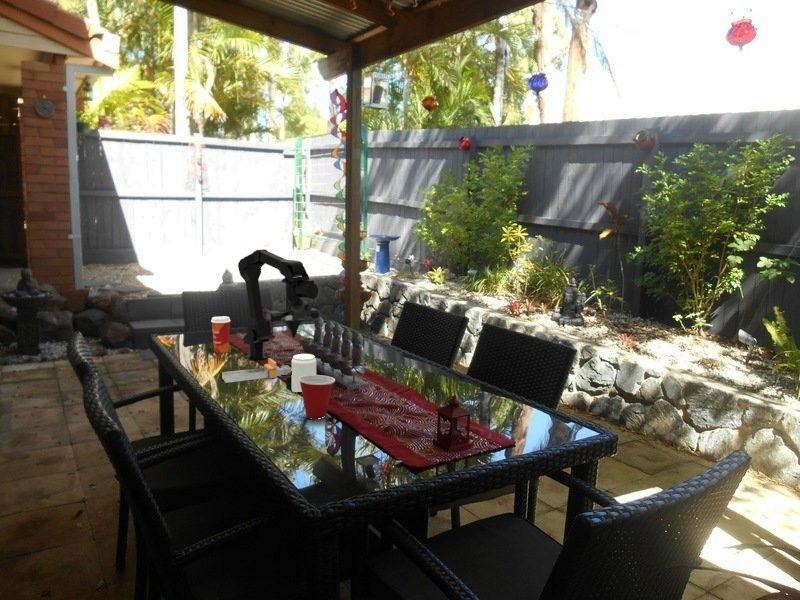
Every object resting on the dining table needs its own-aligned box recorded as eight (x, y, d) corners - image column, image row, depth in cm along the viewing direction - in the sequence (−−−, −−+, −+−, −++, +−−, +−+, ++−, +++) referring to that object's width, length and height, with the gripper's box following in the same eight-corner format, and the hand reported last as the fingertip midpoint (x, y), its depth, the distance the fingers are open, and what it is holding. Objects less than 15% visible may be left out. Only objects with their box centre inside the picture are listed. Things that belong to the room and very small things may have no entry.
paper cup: (210, 350, 267) (209, 316, 265) (229, 348, 270) (228, 315, 268) (213, 354, 260) (212, 320, 258) (232, 353, 263) (232, 319, 261)
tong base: (222, 379, 228) (222, 372, 228) (287, 371, 240) (287, 365, 239) (226, 383, 224) (226, 376, 223) (291, 375, 235) (291, 368, 235)
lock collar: (263, 372, 236) (263, 358, 235) (270, 372, 237) (270, 357, 237) (269, 378, 230) (269, 363, 229) (276, 377, 231) (276, 362, 231)
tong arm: (278, 372, 238) (277, 366, 237) (279, 373, 236) (279, 367, 235) (222, 378, 228) (222, 372, 228) (223, 380, 227) (223, 373, 226)
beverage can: (303, 396, 212) (303, 361, 210) (286, 391, 217) (286, 356, 215) (321, 391, 218) (321, 356, 216) (304, 386, 223) (304, 352, 221)
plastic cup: (342, 414, 197) (342, 376, 194) (320, 425, 187) (320, 385, 185) (313, 407, 202) (313, 370, 200) (290, 418, 193) (290, 378, 191)
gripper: (275, 300, 228) (275, 344, 230) (325, 297, 237) (325, 339, 239) (265, 295, 237) (266, 337, 240) (314, 293, 246) (313, 333, 249)
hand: (293, 337), depth 242 cm, fingers closed
